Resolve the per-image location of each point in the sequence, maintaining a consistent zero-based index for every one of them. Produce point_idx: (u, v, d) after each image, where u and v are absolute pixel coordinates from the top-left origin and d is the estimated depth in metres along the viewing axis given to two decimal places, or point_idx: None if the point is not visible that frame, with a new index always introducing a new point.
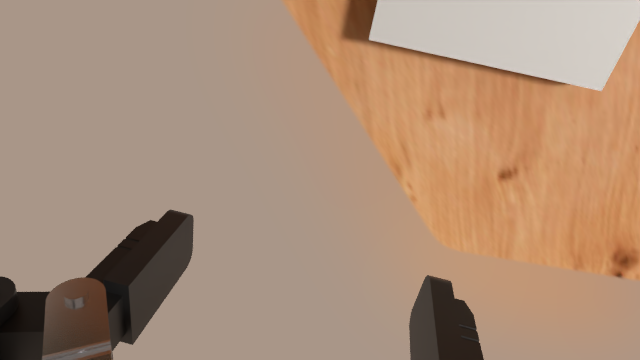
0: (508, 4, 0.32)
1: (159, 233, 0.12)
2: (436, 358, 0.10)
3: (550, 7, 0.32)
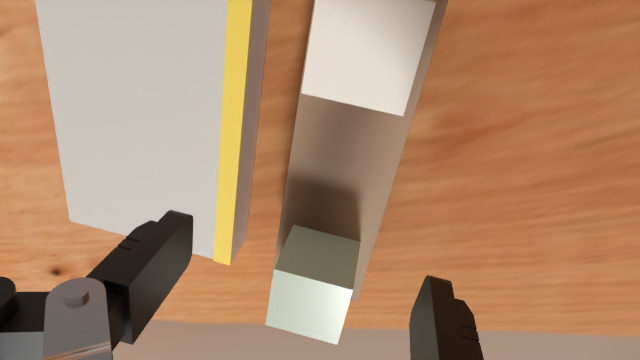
0: (125, 105, 0.23)
1: (159, 233, 0.12)
2: (436, 358, 0.10)
3: (134, 154, 0.25)
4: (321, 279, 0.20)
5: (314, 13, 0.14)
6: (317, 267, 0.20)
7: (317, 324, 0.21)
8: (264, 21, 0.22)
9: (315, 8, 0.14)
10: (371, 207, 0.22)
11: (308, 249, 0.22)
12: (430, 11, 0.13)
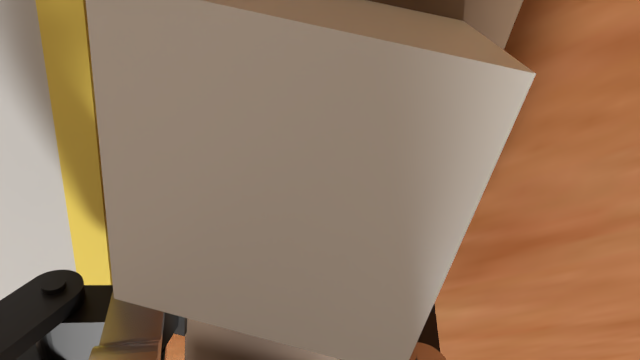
0: None
1: None
2: None
3: None
4: None
5: (99, 94, 0.04)
6: None
7: None
8: None
9: (98, 78, 0.04)
10: None
11: None
12: (509, 103, 0.03)
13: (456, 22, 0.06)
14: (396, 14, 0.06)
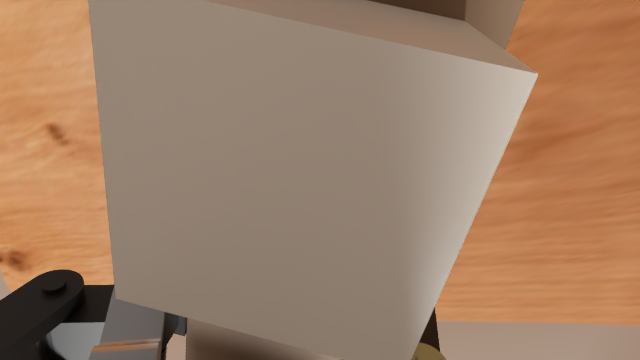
0: None
1: None
2: None
3: None
4: None
5: (101, 94, 0.04)
6: None
7: None
8: None
9: (101, 78, 0.04)
10: None
11: None
12: (511, 103, 0.03)
13: (457, 22, 0.06)
14: (398, 14, 0.06)
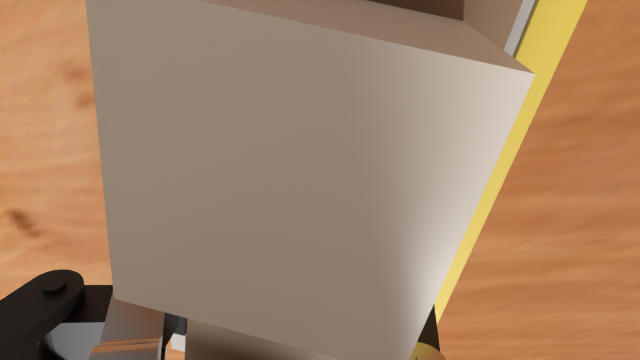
0: None
1: None
2: None
3: None
4: None
5: (99, 94, 0.04)
6: None
7: None
8: None
9: (98, 78, 0.04)
10: None
11: None
12: (509, 103, 0.03)
13: (456, 22, 0.06)
14: (396, 14, 0.06)
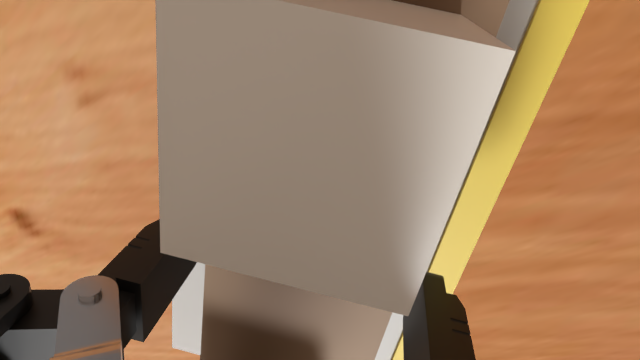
0: None
1: None
2: (426, 350, 0.10)
3: None
4: None
5: (160, 72, 0.05)
6: None
7: None
8: None
9: (161, 58, 0.05)
10: None
11: None
12: (495, 75, 0.04)
13: (454, 15, 0.07)
14: (402, 8, 0.07)
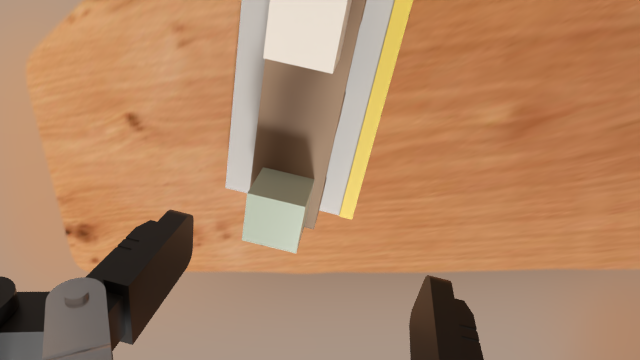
0: None
1: (159, 233, 0.12)
2: (436, 357, 0.10)
3: None
4: (282, 200, 0.27)
5: (270, 2, 0.21)
6: (280, 193, 0.28)
7: (280, 237, 0.28)
8: None
9: None
10: (320, 151, 0.29)
11: (274, 182, 0.29)
12: (345, 2, 0.21)
13: None
14: None
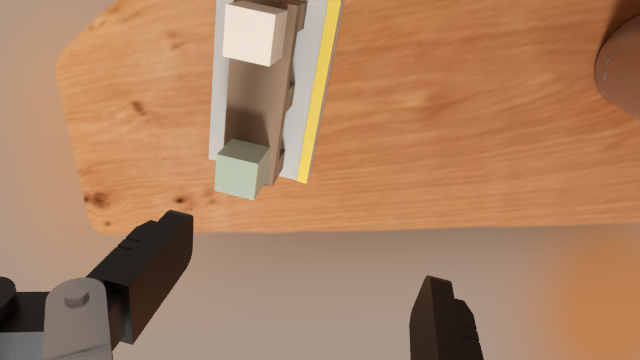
0: None
1: (159, 233, 0.12)
2: (436, 358, 0.10)
3: None
4: (242, 159, 0.37)
5: (225, 18, 0.31)
6: (241, 154, 0.38)
7: (242, 187, 0.38)
8: (335, 43, 0.41)
9: (225, 16, 0.31)
10: (273, 125, 0.39)
11: (238, 148, 0.39)
12: (274, 18, 0.31)
13: (283, 10, 0.34)
14: (270, 8, 0.33)
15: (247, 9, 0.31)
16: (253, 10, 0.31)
